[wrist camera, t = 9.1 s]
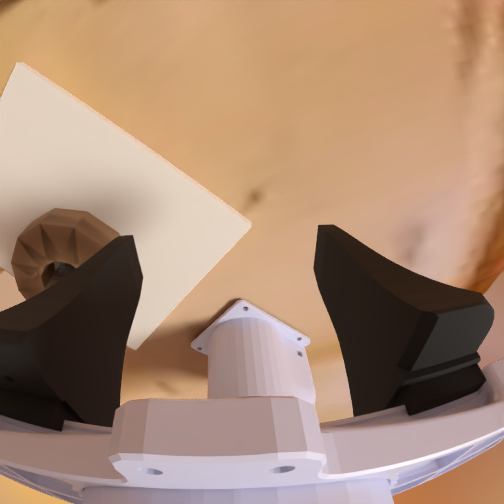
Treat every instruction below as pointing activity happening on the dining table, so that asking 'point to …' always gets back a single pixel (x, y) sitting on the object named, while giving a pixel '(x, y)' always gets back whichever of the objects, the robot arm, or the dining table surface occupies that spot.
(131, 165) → the mat
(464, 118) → the dining table surface
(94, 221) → the ring
